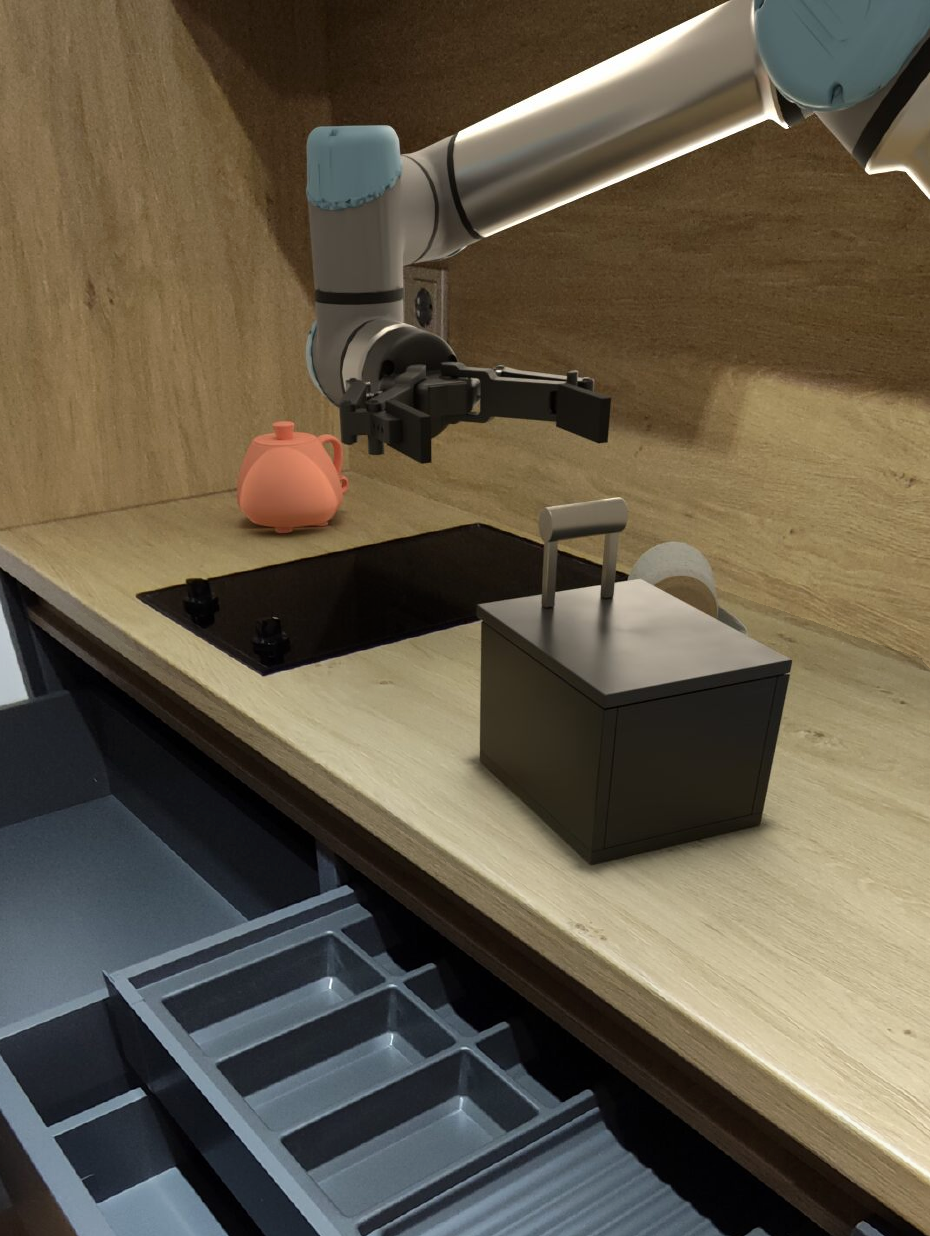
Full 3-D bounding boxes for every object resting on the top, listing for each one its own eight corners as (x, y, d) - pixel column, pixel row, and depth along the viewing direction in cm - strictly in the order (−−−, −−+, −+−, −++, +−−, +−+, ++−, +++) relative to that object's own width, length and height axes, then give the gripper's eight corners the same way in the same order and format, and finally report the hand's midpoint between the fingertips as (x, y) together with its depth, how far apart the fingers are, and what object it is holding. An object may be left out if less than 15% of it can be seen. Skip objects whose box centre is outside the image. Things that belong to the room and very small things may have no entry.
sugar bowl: (223, 519, 132) (210, 420, 125) (325, 501, 138) (318, 405, 131) (270, 543, 124) (259, 438, 118) (376, 522, 130) (371, 421, 123)
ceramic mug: (627, 664, 95) (639, 567, 90) (620, 630, 101) (631, 539, 96) (752, 666, 94) (771, 570, 89) (737, 633, 100) (754, 541, 95)
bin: (479, 760, 81) (480, 620, 75) (630, 730, 85) (645, 593, 78) (590, 865, 70) (603, 710, 63) (760, 824, 73) (790, 673, 67)
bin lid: (475, 616, 75) (476, 505, 71) (639, 589, 79) (650, 482, 74) (604, 709, 63) (615, 582, 58) (790, 672, 66) (815, 550, 62)
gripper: (537, 420, 96) (667, 472, 82) (261, 449, 89) (349, 512, 75) (541, 314, 91) (681, 349, 77) (249, 336, 84) (342, 380, 70)
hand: (518, 430), depth 76 cm, fingers open, 13 cm apart
